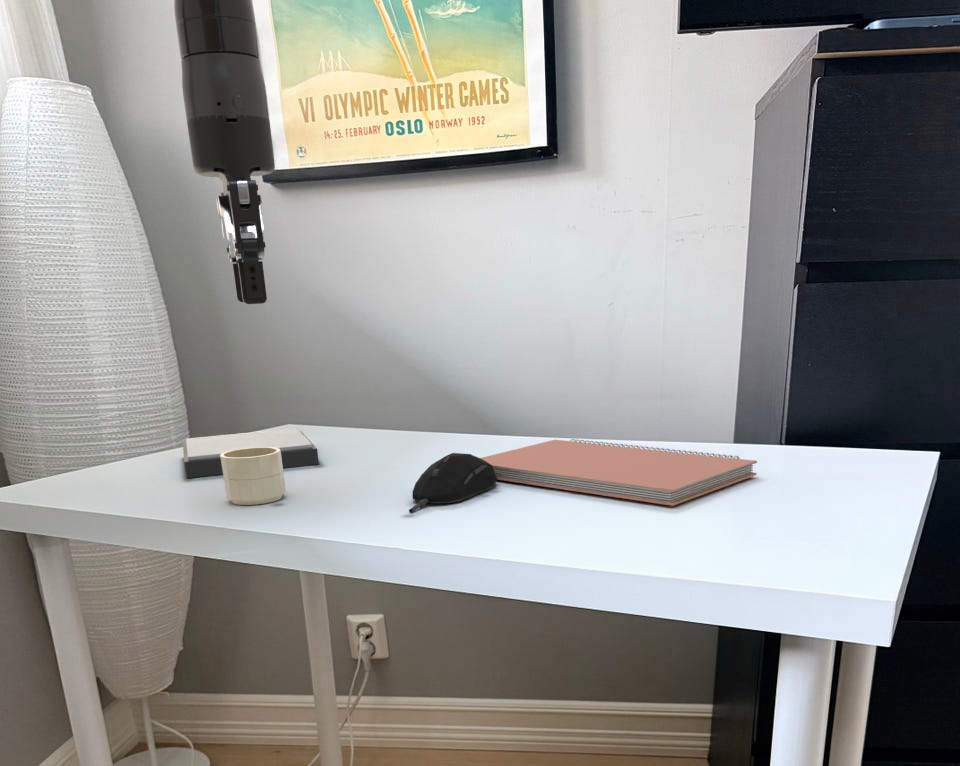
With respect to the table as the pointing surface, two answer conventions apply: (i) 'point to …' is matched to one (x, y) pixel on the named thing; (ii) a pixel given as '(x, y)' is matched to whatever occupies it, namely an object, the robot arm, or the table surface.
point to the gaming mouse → (453, 480)
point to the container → (253, 475)
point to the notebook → (620, 470)
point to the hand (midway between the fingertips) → (251, 302)
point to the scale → (207, 450)
